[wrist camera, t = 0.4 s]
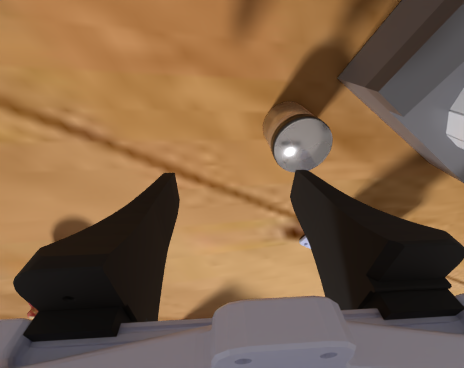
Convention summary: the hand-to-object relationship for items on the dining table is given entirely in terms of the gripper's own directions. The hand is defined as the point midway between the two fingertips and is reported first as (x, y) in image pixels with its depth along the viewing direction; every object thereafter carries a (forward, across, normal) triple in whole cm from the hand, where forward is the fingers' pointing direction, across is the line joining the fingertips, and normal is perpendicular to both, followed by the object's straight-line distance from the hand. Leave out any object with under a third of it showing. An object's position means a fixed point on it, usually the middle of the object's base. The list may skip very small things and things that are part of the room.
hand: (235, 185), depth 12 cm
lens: (+9, -5, 0) cm, 11 cm away
